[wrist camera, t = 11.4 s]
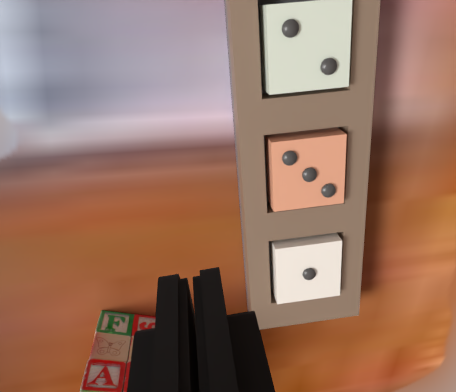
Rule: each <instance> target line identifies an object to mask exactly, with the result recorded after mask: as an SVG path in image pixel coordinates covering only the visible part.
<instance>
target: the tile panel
mask: <svg viewBox="0 0 456 392" xmlns="http://www.w3.org/2000/svg"><path fill="white" fill-rule="evenodd" d="M304 1H315V0H224V2H225V16H226V29H227V42H228V55H229V69H230V82H231V95H232V109H233V122H234V135H235V148H236V162H237V175H238V188H239V202H240V215H241V228H242V241H243V255H244V268H245V281H246V294H247V308H248V312H249V311H255V314H256V318H257V322H258V326H259V330H261V329H268V328H275V327H282V326H288V325H295V324H302V323H309V322H316V321H323V320H329V319H336V318H343V317H350V316H357V315H359V307H360V292H361V278H362V263H363V249H364V234H365V219H366V205H367V190H368V176H369V161H370V146H371V132H372V117H373V103H374V88H375V73H376V59H377V44H378V29H379V15H380V0H352V22H351V46H350V69H349V87H341V88H331V89H321V90H312V91H302V92H293V93H283V94H273V95H269V94H268V93H267V92H266V91H264V90H263V84H262V61H261V38H260V15H259V5H270V4H281V3H292V2H304ZM333 127H337V128H339V129H340V130H342V131H343V132H344V133H346V134H347V139H346V163H345V186H344V203H341V204H333V205H325V206H317V207H309V208H301V209H293V210H285V211H277V212H274V211H273V209H272V207H271V205H270V203H269V201H268V199H267V176H266V153H265V135H270V134H279V133H288V132H297V131H306V130H315V129H324V128H333ZM329 233H337V234H338V235H339V237H340V238H341V239H342V258H341V282H340V296H333V297H326V298H319V299H312V300H305V301H298V302H291V303H283V304H277V302H276V299H275V297H274V294H273V291H272V288H271V268H270V245H269V241H275V240H283V239H290V238H298V237H306V236H313V235H321V234H329Z"/></svg>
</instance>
